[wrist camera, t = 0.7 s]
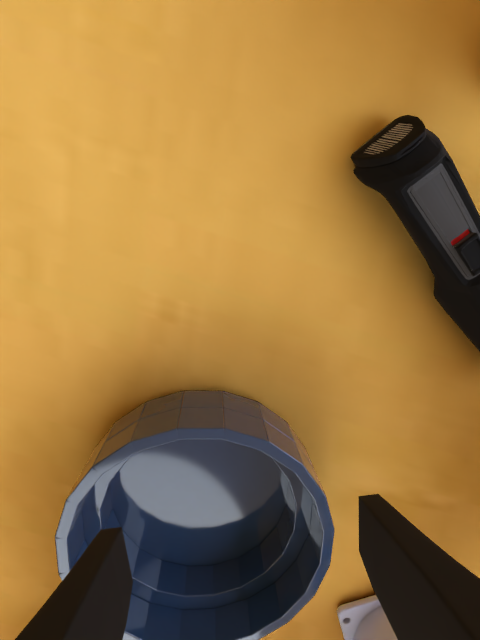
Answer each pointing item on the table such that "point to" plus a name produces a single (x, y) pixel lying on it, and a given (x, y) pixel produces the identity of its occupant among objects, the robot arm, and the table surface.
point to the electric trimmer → (430, 211)
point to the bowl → (204, 517)
